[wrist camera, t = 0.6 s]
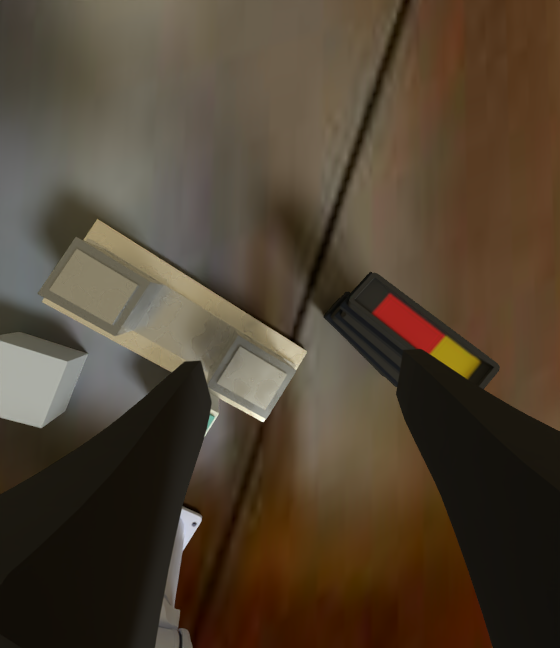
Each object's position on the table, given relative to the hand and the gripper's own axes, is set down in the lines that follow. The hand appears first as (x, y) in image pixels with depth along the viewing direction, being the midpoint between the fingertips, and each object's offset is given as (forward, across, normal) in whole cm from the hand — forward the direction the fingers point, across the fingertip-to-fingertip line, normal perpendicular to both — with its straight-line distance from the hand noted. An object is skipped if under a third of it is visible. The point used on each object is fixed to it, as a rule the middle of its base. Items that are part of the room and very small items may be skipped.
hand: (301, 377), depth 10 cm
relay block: (+13, +24, +9) cm, 29 cm away
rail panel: (+17, +11, +7) cm, 22 cm away
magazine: (+21, -7, +11) cm, 25 cm away
